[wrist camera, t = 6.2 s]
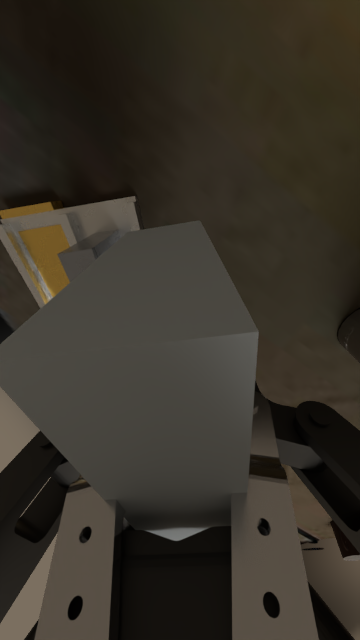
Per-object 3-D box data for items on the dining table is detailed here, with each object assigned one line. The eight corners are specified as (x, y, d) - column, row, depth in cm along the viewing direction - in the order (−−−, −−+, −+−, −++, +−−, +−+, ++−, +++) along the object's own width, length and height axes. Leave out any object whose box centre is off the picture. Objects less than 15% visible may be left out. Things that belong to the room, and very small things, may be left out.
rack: (135, 187, 23) (108, 188, 15) (167, 334, 35) (163, 384, 26) (3, 210, 25) (-91, 224, 16) (75, 345, 36) (42, 396, 27)
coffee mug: (349, 523, 87) (367, 559, 79) (327, 525, 89) (342, 561, 80) (351, 514, 81) (371, 552, 73) (328, 516, 83) (344, 554, 74)
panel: (205, 219, 9) (283, 327, 2) (218, 398, 15) (248, 565, 9) (126, 232, 9) (-21, 363, 2) (172, 402, 16) (165, 567, 9)
